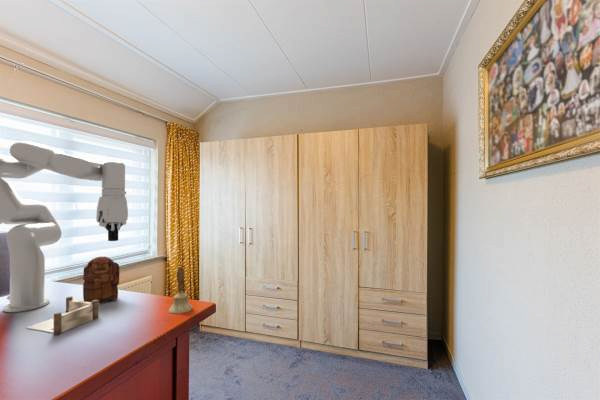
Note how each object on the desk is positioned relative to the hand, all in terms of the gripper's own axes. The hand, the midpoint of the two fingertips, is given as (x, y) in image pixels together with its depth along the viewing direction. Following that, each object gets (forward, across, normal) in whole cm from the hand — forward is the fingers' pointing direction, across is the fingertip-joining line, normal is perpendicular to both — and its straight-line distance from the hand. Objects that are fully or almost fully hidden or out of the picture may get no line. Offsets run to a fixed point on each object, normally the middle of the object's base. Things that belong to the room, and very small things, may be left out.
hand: (113, 240), depth 109 cm
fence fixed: (+25, +11, -1) cm, 27 cm away
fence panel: (+25, +18, +5) cm, 31 cm away
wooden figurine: (+25, -2, -8) cm, 27 cm away
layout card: (+25, +18, -2) cm, 31 cm away
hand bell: (+25, -4, +28) cm, 38 cm away
